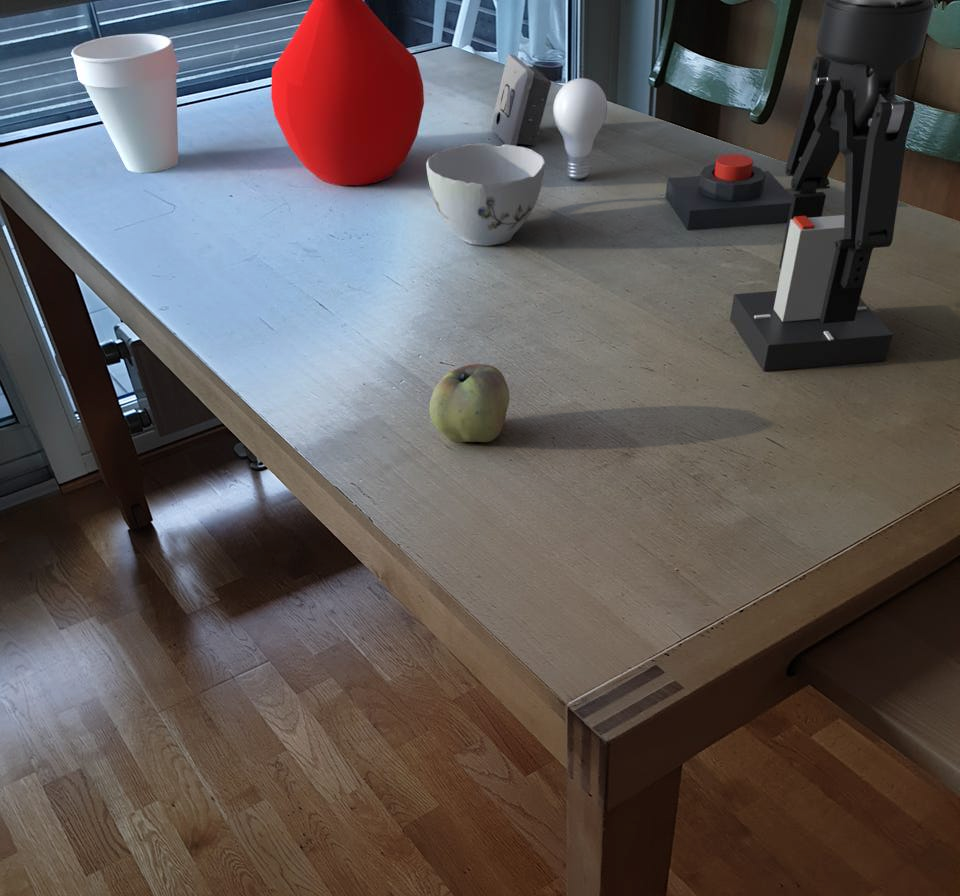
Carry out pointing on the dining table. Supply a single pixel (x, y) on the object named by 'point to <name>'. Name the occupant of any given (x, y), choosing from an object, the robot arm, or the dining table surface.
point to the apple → (470, 404)
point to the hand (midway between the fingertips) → (814, 292)
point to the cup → (134, 96)
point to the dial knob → (807, 266)
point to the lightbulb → (579, 121)
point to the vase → (347, 94)
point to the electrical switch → (520, 103)
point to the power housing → (728, 200)
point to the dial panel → (806, 336)
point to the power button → (733, 167)
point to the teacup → (485, 189)
